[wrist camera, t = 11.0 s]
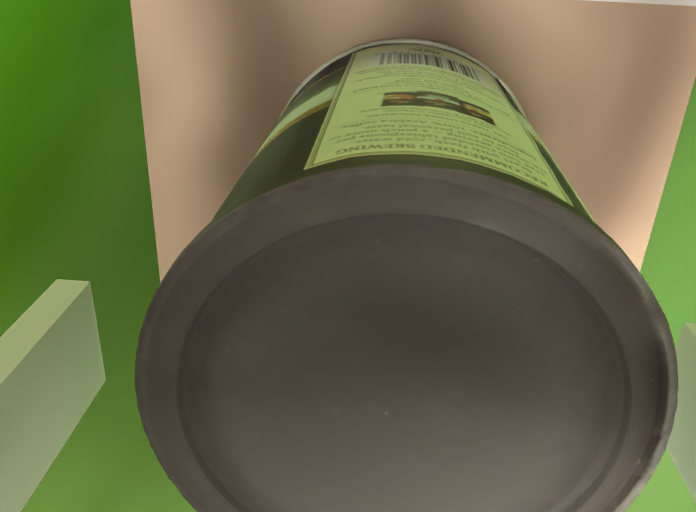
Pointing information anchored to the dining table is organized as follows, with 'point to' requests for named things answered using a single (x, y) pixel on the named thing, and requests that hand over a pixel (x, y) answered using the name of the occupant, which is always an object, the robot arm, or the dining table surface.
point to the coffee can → (405, 314)
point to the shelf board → (426, 24)
